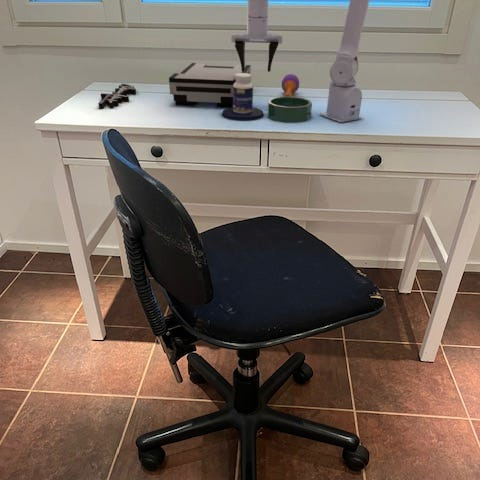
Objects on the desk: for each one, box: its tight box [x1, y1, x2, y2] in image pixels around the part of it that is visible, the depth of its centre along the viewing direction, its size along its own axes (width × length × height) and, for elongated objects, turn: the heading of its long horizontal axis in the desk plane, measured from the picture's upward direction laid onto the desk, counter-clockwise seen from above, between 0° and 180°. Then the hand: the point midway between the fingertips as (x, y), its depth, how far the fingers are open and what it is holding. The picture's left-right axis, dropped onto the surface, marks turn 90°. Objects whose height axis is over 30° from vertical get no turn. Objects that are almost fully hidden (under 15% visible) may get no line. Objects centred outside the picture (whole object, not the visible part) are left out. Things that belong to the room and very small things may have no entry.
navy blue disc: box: [221, 106, 265, 122], centre depth 143 cm, size 12×12×1 cm
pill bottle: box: [233, 73, 254, 114], centre depth 140 cm, size 6×6×10 cm
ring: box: [267, 96, 313, 123], centre depth 141 cm, size 12×12×4 cm
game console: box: [168, 62, 252, 109], centre depth 159 cm, size 21×32×8 cm, turn 172°
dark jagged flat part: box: [97, 83, 137, 110], centre depth 158 cm, size 27×2×10 cm
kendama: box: [281, 73, 300, 97], centre depth 158 cm, size 6×6×20 cm
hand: (256, 70), depth 144 cm, fingers open, 7 cm apart
